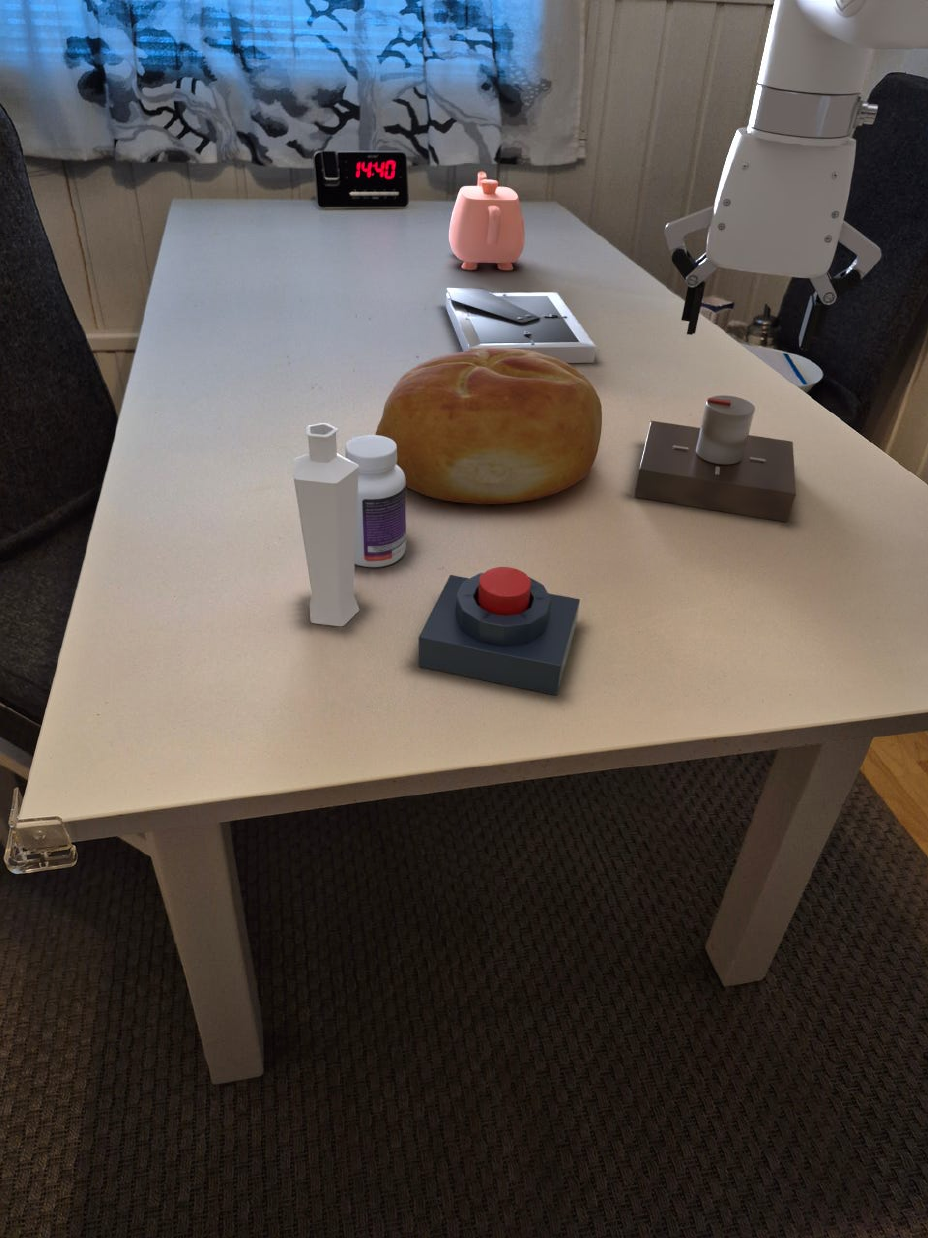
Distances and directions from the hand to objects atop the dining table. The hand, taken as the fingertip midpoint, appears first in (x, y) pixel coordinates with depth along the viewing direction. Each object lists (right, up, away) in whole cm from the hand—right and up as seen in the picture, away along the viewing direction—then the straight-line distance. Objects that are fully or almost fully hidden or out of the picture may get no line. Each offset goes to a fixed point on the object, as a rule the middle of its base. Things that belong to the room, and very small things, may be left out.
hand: (746, 337), depth 77 cm
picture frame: (-18, +13, +39) cm, 45 cm away
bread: (-23, -9, +10) cm, 27 cm away
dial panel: (-1, -11, +8) cm, 14 cm away
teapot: (-22, +33, +65) cm, 76 cm away
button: (-22, -23, -15) cm, 36 cm away
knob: (0, -9, +7) cm, 11 cm away
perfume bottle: (-35, -24, -10) cm, 44 cm away
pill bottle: (-32, -19, -3) cm, 38 cm away
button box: (-22, -27, -13) cm, 37 cm away
